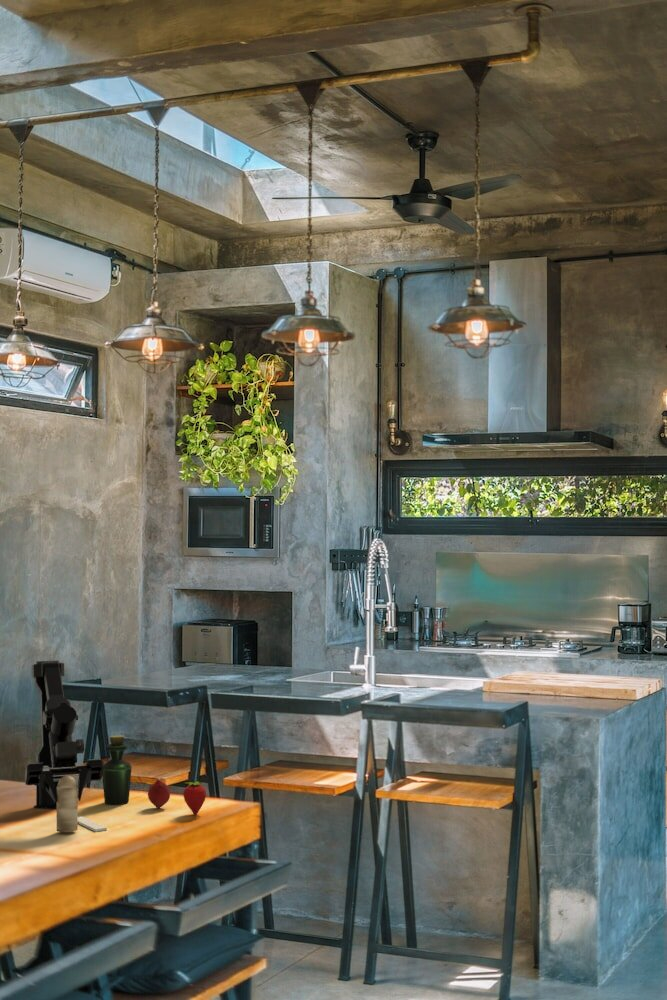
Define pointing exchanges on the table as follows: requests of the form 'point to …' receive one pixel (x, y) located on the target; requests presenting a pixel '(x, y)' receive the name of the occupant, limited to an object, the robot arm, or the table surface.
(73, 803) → the skittle
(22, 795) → the table surface
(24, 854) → the table surface
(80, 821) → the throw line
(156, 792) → the onion
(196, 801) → the strawberry
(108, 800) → the potion bottle
